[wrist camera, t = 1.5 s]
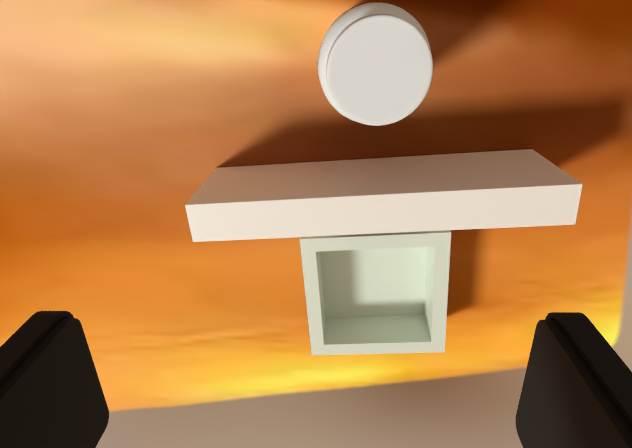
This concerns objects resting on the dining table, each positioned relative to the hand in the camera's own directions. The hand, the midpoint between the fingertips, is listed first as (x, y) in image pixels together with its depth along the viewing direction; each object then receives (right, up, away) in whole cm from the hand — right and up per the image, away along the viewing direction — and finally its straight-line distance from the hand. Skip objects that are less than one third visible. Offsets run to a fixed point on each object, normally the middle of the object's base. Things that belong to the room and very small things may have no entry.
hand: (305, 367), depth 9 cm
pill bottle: (+3, +14, +19) cm, 24 cm away
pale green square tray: (+5, -1, +26) cm, 26 cm away
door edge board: (+4, +6, +22) cm, 24 cm away
